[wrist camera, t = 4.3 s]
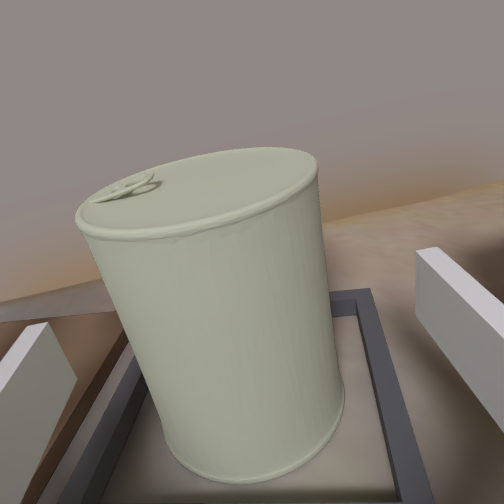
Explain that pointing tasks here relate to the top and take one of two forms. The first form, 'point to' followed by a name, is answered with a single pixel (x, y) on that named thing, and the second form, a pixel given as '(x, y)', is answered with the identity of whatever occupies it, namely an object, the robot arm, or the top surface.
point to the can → (225, 306)
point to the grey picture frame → (403, 470)
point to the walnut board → (85, 368)
